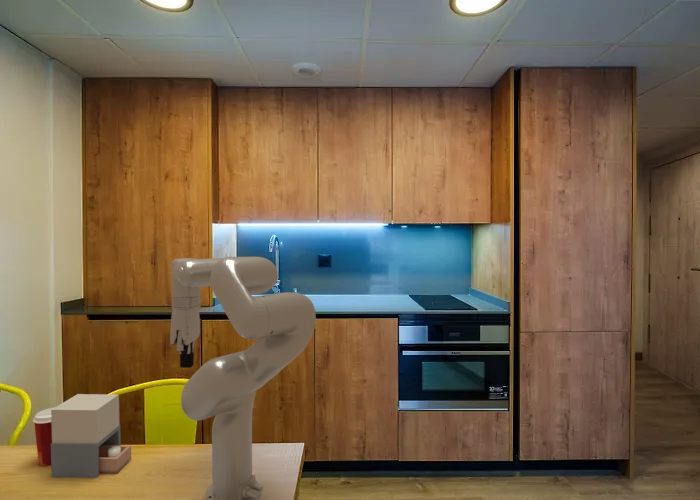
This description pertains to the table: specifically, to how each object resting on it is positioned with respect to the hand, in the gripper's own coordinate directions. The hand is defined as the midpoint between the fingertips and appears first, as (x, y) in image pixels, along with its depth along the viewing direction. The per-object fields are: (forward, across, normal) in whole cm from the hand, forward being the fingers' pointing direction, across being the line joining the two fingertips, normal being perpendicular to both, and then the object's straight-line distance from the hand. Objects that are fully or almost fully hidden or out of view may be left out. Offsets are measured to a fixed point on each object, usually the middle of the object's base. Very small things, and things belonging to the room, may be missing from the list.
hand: (186, 366), depth 117 cm
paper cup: (+27, +1, -38) cm, 47 cm away
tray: (+27, +4, -23) cm, 36 cm away
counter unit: (+27, +3, -27) cm, 38 cm away
